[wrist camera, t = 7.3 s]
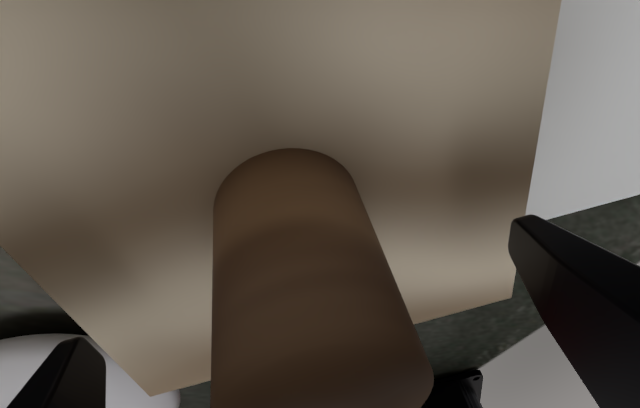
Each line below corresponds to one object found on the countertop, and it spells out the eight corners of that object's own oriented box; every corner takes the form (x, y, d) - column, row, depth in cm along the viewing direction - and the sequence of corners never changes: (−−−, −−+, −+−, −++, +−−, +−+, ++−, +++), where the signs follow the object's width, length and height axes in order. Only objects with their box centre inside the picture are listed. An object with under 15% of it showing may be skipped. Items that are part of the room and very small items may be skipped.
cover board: (497, 276, 16) (611, 448, 11) (153, 370, 16) (126, 585, 11) (557, -202, 7) (1116, -296, 3) (-190, -12, 7) (-919, 229, 3)
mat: (725, 163, 22) (734, 168, 21) (442, 239, 22) (446, 246, 21) (952, -263, 12) (976, -267, 12) (441, -133, 12) (449, -133, 11)
